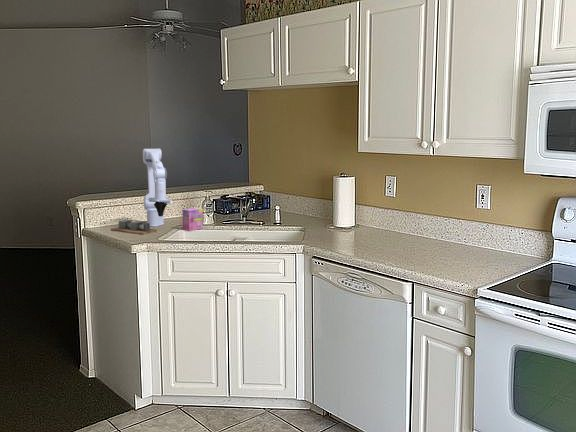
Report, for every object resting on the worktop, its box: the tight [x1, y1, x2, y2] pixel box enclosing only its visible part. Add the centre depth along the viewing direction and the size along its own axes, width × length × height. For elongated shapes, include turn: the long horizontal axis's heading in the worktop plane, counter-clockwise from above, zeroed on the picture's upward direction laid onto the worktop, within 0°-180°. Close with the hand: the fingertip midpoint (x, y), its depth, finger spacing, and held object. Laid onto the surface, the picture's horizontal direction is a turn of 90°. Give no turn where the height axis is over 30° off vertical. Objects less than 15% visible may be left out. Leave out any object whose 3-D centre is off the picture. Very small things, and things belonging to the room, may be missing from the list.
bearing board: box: [110, 219, 158, 236], centre depth 320 cm, size 12×22×5 cm, turn 64°
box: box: [182, 206, 204, 232], centre depth 326 cm, size 10×6×12 cm, turn 143°
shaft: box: [117, 221, 151, 231], centre depth 320 cm, size 4×20×4 cm, turn 64°
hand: (160, 216), depth 313 cm, fingers closed
